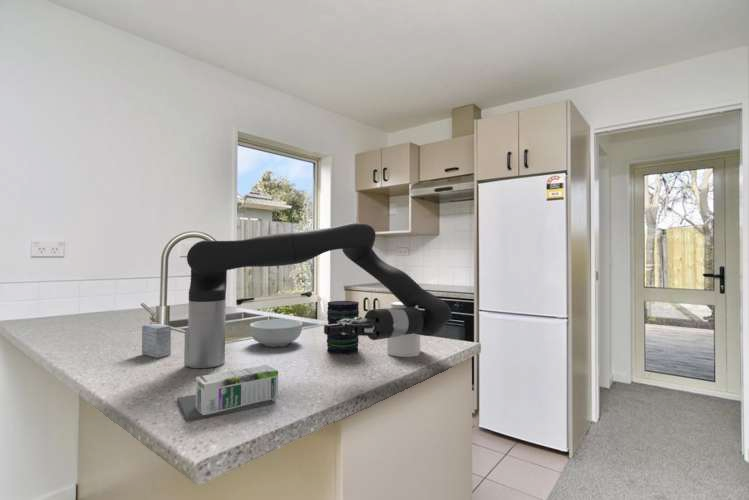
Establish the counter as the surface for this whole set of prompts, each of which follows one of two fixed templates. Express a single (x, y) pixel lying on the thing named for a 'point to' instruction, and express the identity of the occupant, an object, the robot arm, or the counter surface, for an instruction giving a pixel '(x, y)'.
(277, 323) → the cereal bowl
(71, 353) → the counter surface
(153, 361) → the counter surface
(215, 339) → the robot arm
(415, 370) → the counter surface
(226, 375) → the syrup box
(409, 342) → the jar
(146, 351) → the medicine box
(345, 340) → the storage jar
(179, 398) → the mat
